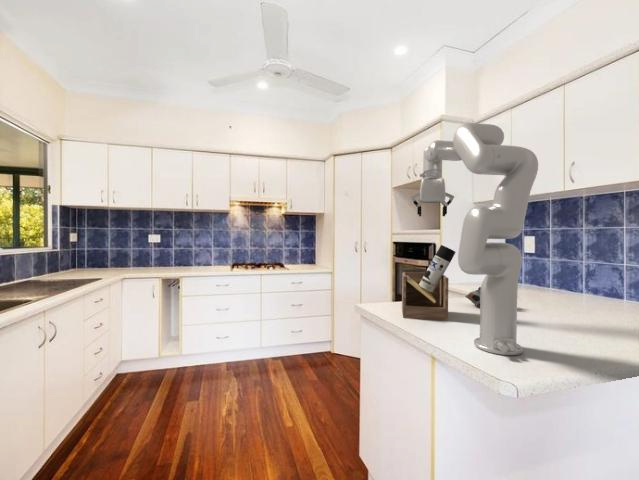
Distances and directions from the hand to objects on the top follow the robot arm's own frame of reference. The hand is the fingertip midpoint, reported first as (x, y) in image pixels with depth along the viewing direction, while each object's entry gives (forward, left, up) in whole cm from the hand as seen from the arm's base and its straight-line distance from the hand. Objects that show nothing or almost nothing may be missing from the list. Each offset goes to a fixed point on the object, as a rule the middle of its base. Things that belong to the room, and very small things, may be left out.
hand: (431, 216), depth 128 cm
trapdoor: (0, +4, -31) cm, 31 cm away
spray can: (0, +2, -32) cm, 32 cm away
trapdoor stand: (0, +3, -42) cm, 42 cm away
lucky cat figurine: (+24, -28, -43) cm, 56 cm away
